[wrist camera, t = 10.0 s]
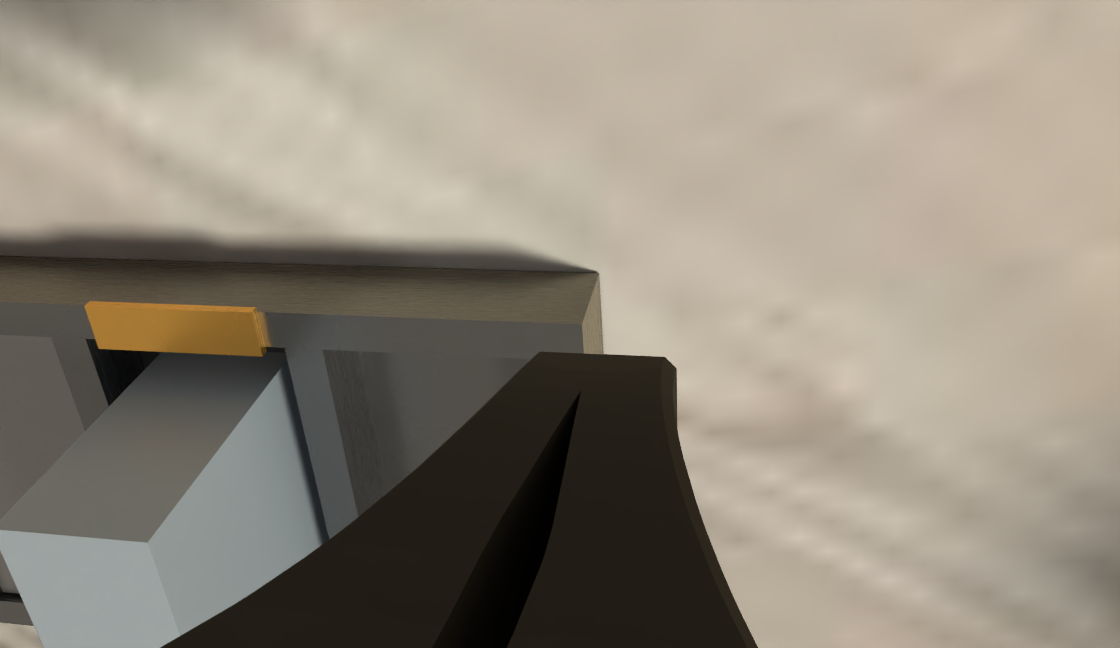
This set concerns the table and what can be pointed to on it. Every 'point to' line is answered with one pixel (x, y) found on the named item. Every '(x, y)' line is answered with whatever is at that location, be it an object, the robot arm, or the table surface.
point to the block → (168, 505)
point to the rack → (277, 326)
